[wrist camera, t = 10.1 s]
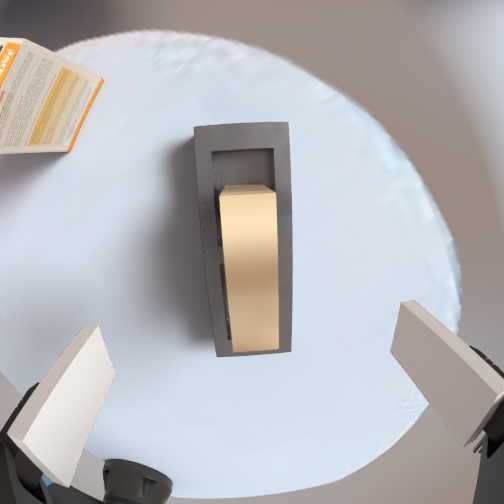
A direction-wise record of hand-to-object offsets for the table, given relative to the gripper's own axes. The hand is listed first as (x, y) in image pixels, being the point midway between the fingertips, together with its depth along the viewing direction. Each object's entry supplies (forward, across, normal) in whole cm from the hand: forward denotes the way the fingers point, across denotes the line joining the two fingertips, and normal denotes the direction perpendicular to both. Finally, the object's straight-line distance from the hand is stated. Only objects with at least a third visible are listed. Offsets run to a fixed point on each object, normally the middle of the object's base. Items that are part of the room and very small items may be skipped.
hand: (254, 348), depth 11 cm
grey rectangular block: (+16, 0, 0) cm, 16 cm away
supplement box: (+16, -16, +16) cm, 28 cm away
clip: (+15, 0, +1) cm, 15 cm away
